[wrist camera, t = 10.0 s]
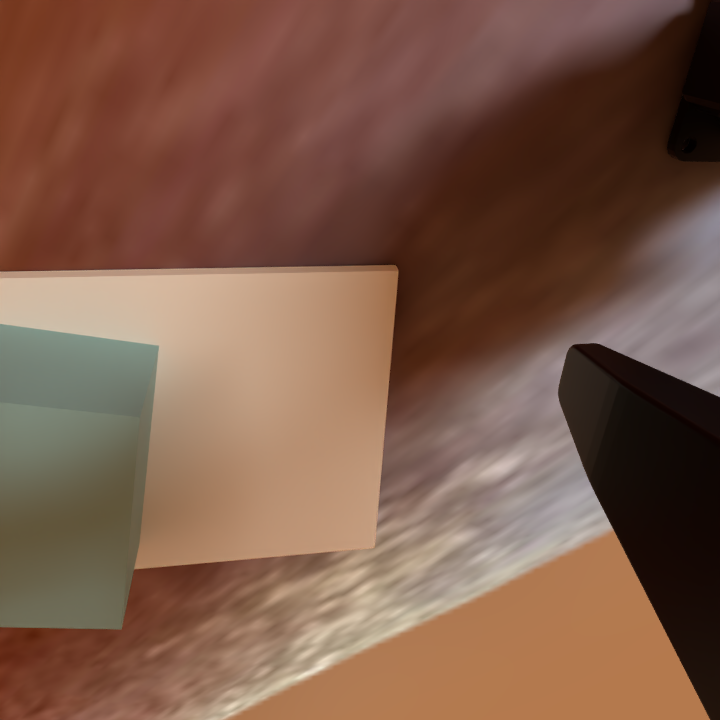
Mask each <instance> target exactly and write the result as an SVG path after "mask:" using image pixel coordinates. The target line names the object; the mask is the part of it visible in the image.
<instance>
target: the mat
mask: <svg viewBox="0 0 720 720" xmlns="http://www.w3.org/2000/svg"><path fill="white" fill-rule="evenodd" d="M398 272H399V271H398V269H397V267H396V265H365V266H307V267H249V268H192V269H134V270H76V271H18V272H0V324H5V325H12V326H20V327H27V328H34V329H41V330H49V331H56V332H63V333H71V334H78V335H85V336H92V337H100V338H107V339H114V340H121V341H129V342H136V343H143V344H150V345H158V346H159V352H158V362H157V372H156V382H155V392H154V402H153V412H152V422H151V432H150V442H149V452H148V462H147V473H146V483H145V493H144V503H143V513H142V523H141V533H140V543H139V548H138V553H137V558H136V563H135V567H134V569H143V568H154V567H165V566H177V565H188V564H199V563H210V562H221V561H233V560H244V559H255V558H266V557H278V556H289V555H300V554H311V553H322V552H334V551H345V550H356V549H367V548H375V538H376V527H377V515H378V503H379V492H380V480H381V469H382V457H383V446H384V434H385V422H386V411H387V399H388V388H389V376H390V365H391V353H392V341H393V330H394V318H395V307H396V295H397V284H398Z"/></svg>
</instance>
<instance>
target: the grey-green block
mask: <svg viewBox="0 0 720 720" xmlns="http://www.w3.org/2000/svg"><path fill="white" fill-rule="evenodd" d="M158 352H159V346H158V345H150V344H143V343H136V342H129V341H121V340H114V339H107V338H100V337H92V336H85V335H78V334H71V333H63V332H56V331H49V330H41V329H34V328H27V327H20V326H12V325H5V324H0V627H22V628H75V629H122V625H123V620H124V615H125V611H126V606H127V601H128V596H129V591H130V587H131V582H132V577H133V572H134V567H135V563H136V558H137V553H138V548H139V543H140V533H141V523H142V513H143V503H144V493H145V483H146V473H147V462H148V452H149V442H150V432H151V422H152V412H153V402H154V392H155V382H156V372H157V362H158Z"/></svg>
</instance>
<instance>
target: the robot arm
mask: <svg viewBox="0 0 720 720" xmlns="http://www.w3.org/2000/svg"><path fill="white" fill-rule="evenodd" d="M688 138H689V144H688V145H687V147H686V148H685V149H683V150H682V144H683V143H684V141H685V140H686V139H688ZM667 150H668V153H669V155H670V156H671V157H673V158H676V159H678V160H681V161H709V162H720V0H712V2H711V3H710V5H709V8H708V11H707V14H706V17H705V21H704V24H703V27H702V30H701V33H700V37H699V40H698V43H697V46H696V50H695V53H694V56H693V59H692V62H691V66H690V69H689V72H688V75H687V79H686V82H685V85H684V88H683V96H682V99H681V102H680V105H679V109H678V112H677V115H676V118H675V121H674V125H673V128H672V131H671V134H670V138H669V141H668V146H667ZM558 396H559V402H560V405H561V408H562V410H563V413H564V416H565V418H566V421H567V424H568V426H569V429H570V432H571V435H572V437H573V440H574V443H575V445H576V448H577V451H578V453H579V456H580V459H581V462H582V464H583V467H584V469H585V472H586V474H587V477H588V479H589V482H590V484H591V486H592V488H593V490H594V492H595V494H596V496H597V498H598V500H599V502H600V504H601V506H602V508H603V510H604V512H605V514H606V516H607V518H608V520H609V522H610V524H611V526H612V528H613V529H614V531H615V533H616V535H617V537H618V539H619V541H620V543H621V545H622V547H623V549H624V551H625V553H626V555H627V557H628V559H629V561H630V563H631V565H632V567H633V569H634V571H635V573H636V575H637V576H638V579H639V581H640V583H641V584H642V586H643V588H644V590H645V592H646V594H647V596H648V598H649V600H650V602H651V604H652V606H653V608H654V610H655V612H656V614H657V616H658V618H659V620H660V622H661V624H662V626H663V628H664V629H665V632H666V633H667V636H668V637H669V640H670V642H671V643H672V645H673V647H674V649H675V651H676V653H677V655H678V657H679V659H680V661H681V663H682V665H683V667H684V669H685V671H686V673H687V675H688V677H689V679H690V681H691V683H692V685H693V687H694V689H695V691H696V693H697V695H698V696H699V699H700V701H701V702H702V704H703V706H704V708H705V710H706V712H707V714H708V716H709V718H710V720H720V397H718V396H716V395H714V394H711V393H709V392H707V391H705V390H702V389H700V388H698V387H696V386H693V385H691V384H689V383H686V382H684V381H682V380H680V379H677V378H675V377H673V376H671V375H668V374H666V373H664V372H661V371H659V370H657V369H655V368H652V367H650V366H648V365H646V364H643V363H641V362H639V361H637V360H634V359H632V358H630V357H627V356H625V355H623V354H621V353H618V352H616V351H614V350H612V349H609V348H607V347H605V346H602V345H600V344H596V343H590V344H575V345H573V346H572V347H570V348H569V350H568V352H567V355H566V359H565V363H564V367H563V371H562V375H561V379H560V384H559V389H558Z"/></svg>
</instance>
